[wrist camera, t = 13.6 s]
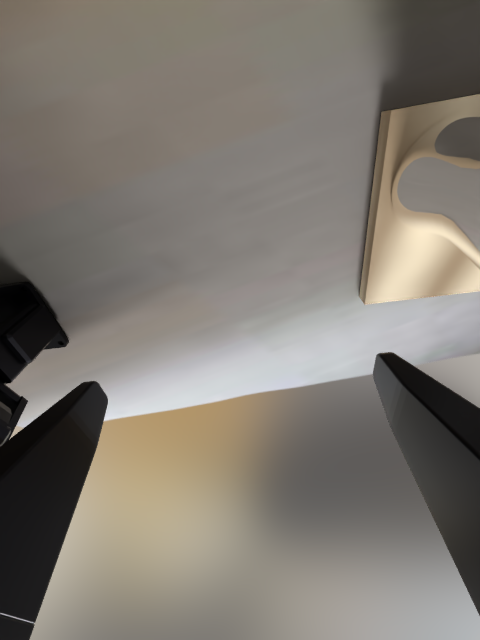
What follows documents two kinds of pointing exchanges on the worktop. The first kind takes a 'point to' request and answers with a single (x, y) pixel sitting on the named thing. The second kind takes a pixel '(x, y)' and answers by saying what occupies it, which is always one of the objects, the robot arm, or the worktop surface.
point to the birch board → (400, 240)
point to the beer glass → (443, 183)
